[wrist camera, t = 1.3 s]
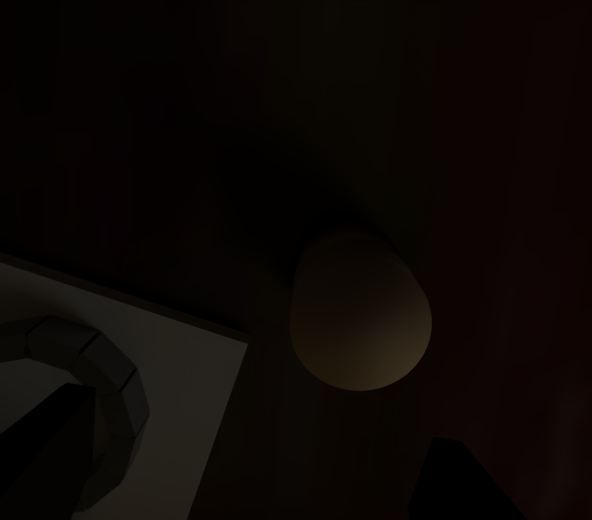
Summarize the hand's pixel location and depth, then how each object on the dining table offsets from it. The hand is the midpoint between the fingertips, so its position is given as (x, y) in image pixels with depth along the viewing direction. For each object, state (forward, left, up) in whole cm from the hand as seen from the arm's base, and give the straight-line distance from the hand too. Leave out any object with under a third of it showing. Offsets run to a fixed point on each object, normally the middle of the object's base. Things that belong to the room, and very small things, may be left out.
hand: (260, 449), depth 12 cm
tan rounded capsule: (-2, -1, -12) cm, 12 cm away
